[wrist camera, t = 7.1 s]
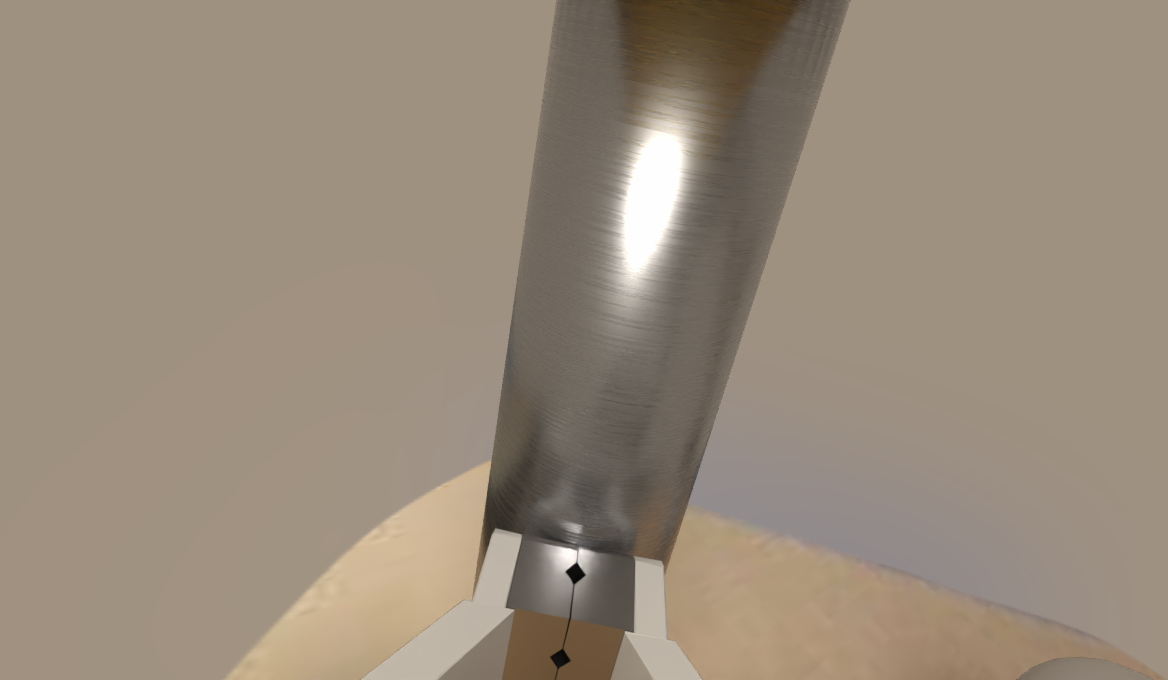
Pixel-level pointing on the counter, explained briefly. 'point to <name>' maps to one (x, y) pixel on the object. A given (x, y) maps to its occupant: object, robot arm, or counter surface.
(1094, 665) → the lightbulb
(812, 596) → the counter surface
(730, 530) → the counter surface
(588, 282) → the instrument mast
